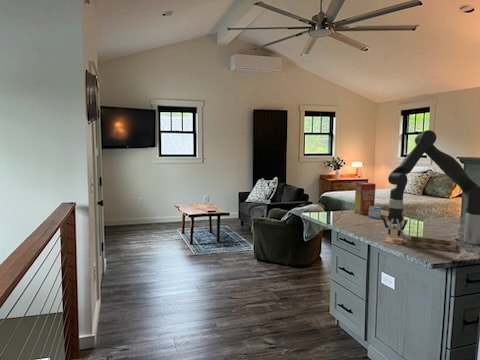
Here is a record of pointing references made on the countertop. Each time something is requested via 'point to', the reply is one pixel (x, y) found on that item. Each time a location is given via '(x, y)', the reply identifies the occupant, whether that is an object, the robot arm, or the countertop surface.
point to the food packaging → (364, 197)
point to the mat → (394, 240)
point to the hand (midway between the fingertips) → (394, 235)
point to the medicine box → (375, 212)
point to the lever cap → (394, 232)
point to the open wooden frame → (431, 246)
